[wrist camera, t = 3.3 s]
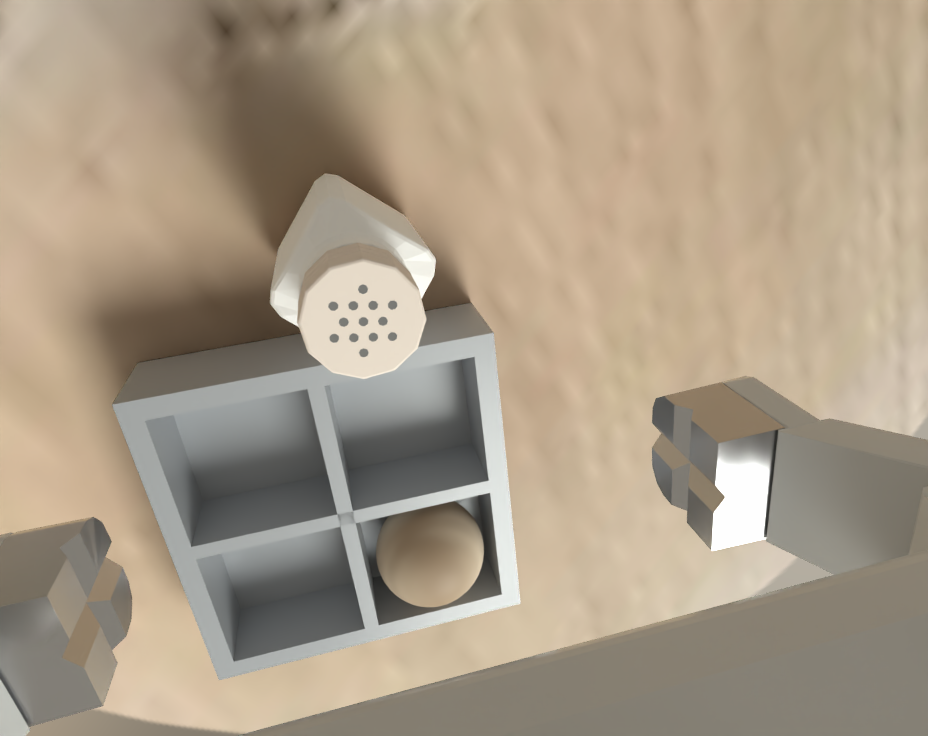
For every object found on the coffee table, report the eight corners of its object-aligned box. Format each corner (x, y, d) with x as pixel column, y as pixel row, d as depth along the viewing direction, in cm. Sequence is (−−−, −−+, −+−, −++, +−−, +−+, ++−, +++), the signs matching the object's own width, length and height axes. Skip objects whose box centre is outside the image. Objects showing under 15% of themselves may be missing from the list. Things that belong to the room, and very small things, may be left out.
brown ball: (464, 465, 29) (490, 528, 25) (475, 545, 31) (500, 615, 27) (363, 487, 29) (372, 555, 24) (380, 568, 30) (391, 644, 26)
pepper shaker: (416, 220, 25) (471, 291, 17) (364, 307, 26) (392, 417, 17) (322, 164, 23) (329, 210, 15) (271, 258, 24) (251, 352, 16)
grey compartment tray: (471, 302, 27) (493, 332, 24) (499, 551, 32) (520, 603, 29) (137, 363, 25) (112, 404, 22) (228, 616, 30) (219, 680, 27)
